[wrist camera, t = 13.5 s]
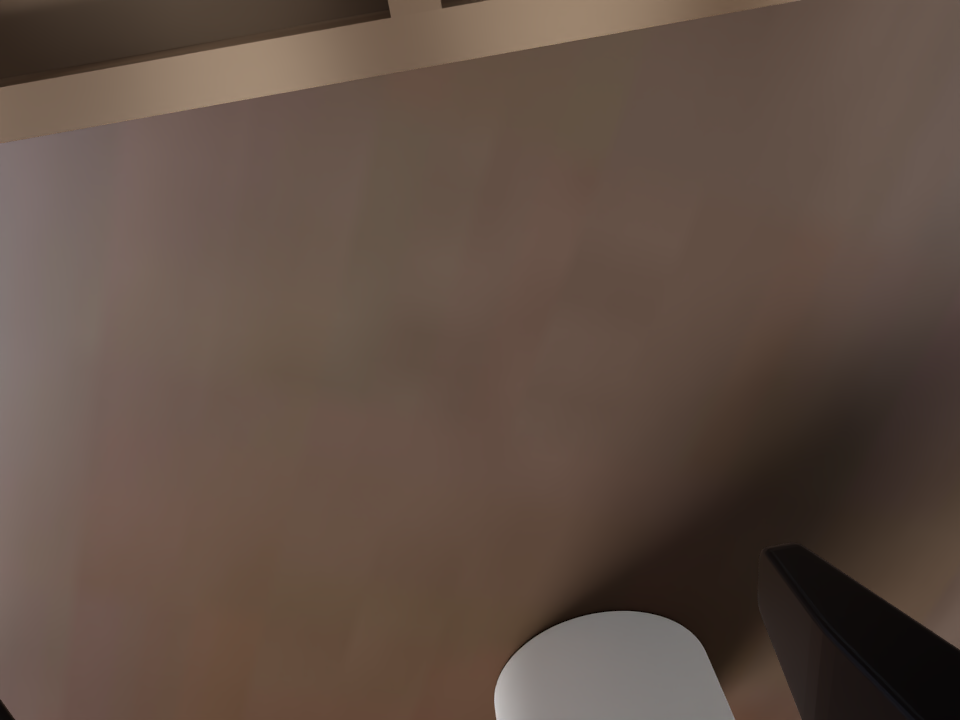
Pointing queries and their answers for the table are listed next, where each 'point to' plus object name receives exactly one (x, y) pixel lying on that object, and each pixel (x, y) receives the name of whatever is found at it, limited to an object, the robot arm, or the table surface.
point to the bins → (267, 47)
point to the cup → (611, 673)
